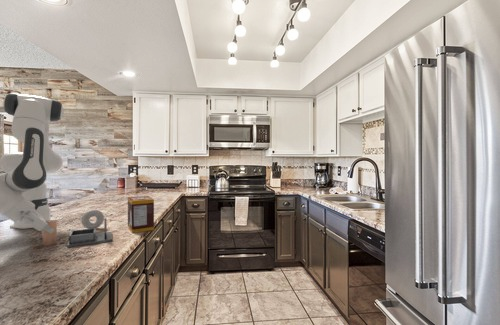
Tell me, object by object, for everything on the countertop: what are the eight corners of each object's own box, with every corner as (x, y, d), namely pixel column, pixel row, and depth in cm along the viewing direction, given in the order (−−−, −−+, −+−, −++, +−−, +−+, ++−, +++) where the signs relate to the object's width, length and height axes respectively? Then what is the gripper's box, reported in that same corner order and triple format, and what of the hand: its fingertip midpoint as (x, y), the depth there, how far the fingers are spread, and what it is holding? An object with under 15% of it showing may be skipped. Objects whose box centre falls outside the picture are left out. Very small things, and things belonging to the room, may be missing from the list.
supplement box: (148, 223, 144) (147, 195, 144) (154, 230, 131) (154, 199, 131) (127, 226, 139) (127, 196, 138) (131, 233, 126) (131, 200, 125)
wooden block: (43, 242, 110) (43, 220, 110) (57, 241, 113) (57, 219, 113) (41, 246, 106) (41, 223, 106) (55, 244, 109) (55, 221, 108)
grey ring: (81, 231, 128) (81, 211, 128) (80, 230, 131) (80, 210, 130) (104, 228, 134) (104, 208, 134) (103, 226, 137) (103, 207, 137)
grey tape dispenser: (70, 238, 116) (70, 220, 116) (111, 233, 124) (111, 217, 124) (67, 247, 105) (67, 227, 105) (112, 241, 113) (112, 223, 113)
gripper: (30, 207, 97) (62, 228, 104) (25, 200, 112) (54, 219, 119) (14, 221, 94) (48, 242, 101) (11, 212, 109) (41, 231, 116)
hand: (51, 230), depth 110 cm, fingers closed on wooden block, 5 cm apart
